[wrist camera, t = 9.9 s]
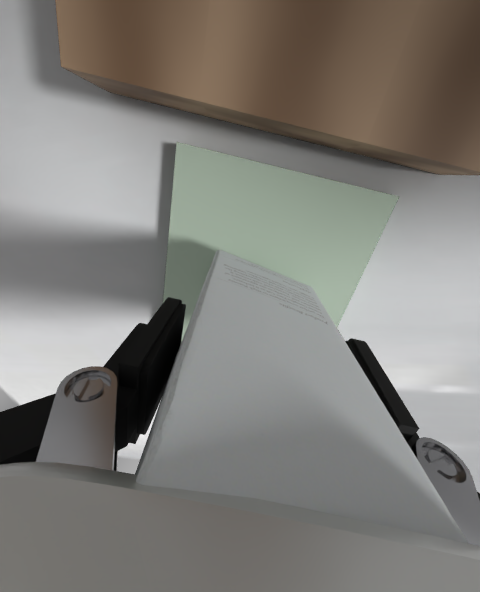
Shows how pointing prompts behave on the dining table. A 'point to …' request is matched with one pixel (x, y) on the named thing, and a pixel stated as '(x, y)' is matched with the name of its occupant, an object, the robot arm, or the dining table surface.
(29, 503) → the robot arm
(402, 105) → the pocket block
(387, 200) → the mat
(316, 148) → the dining table surface
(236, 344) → the skincare box
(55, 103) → the dining table surface
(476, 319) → the dining table surface
